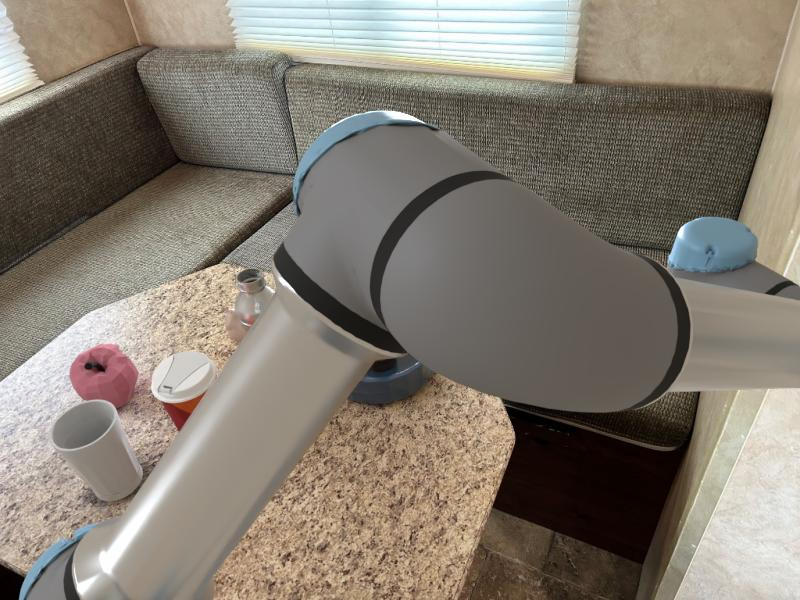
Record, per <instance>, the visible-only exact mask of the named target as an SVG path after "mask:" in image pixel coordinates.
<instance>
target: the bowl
mask: <svg viewBox="0 0 800 600" xmlns="http://www.w3.org/2000/svg"><path fill="white" fill-rule="evenodd" d="M434 374H435V372H433V371H432V370H431V369H429V368H428V367H426V366H425V365H424V364H422V363H421V362H419V361H418V360H416V359H415V358H414V357H413V356H412V355H410V354H409V353H408V354H407V355H406V356H404V357H399V358H397V362H396V364H395V365H394V367H392V368H391V369H389V370H387V371H384V372H375V371H372V370H370V369H369V370H368V371H367V372H366V374H365V375H364V376H363V378H362V379H361V380H360V382H359V383H358V384H357V386H356V387H355V388H354V390H353V391H352V392H351V394H350V395H349V396H348V398H347V399H349V400H351V401H352V402H358V403H364V404H370V405H378V404H379V405H380V404H390V403H394V402H398V401H400V400H403V399H407V398H408V397H411V396H412V395H414V394H415V393H416V392H418V391H420V390H421V389H422V388H425V386H426V384H428V382H429V381H430V380H431V379H432V377H433V376H434Z"/></svg>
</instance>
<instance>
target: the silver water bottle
mask: <svg viewBox="0 0 800 600" xmlns="http://www.w3.org/2000/svg"><path fill="white" fill-rule="evenodd" d="M235 281H236V284H237V286H236V287H237V290H238V292H239V293H238V294H237V297H236V299H235V301H234V306H235V313H236V315H237V317H238V319H239V321H240V323H241V325H242V326H243V328H244V330H245V332H246V334H247V332H248V331H249V329H250V328H251V327H252V325H253V324H254V322H255V321H256V319H257V318H258V316H259V315H260V313H261V312H262V311H263V309H264V308H265V306H266V305H267V303H268V302H269V300H270V299H271V297H272V296H273V295H274V293H275V291H276V290H275V291H274V290H273V289H272V288H271V287H269V286H267V281H266V278H265V275H264V272H263V271H262V270H261V269H260V268H256V267H250V268H245V269H242V270H241V271H239V272H238V273H237V274H236V277H235Z"/></svg>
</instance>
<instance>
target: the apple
mask: <svg viewBox="0 0 800 600" xmlns="http://www.w3.org/2000/svg"><path fill="white" fill-rule="evenodd" d="M139 374H140V372H139V370H138V368H137V366H136V365H135V364H134V362H133V361H132V359H131V358H129V357H128V356H127V354H126V353H123V350H121V348H120V345H118V344H113V343H99V344H97V345H95V346H93V347H91V348H89V349H86V350H85V351H83V352H80V353H79V354H78V355H77V356H76V358H75V359H74V360H73V362H72V363H71V365H70V369H69V375H68V376H69V380H70V383H71V385H72V387H73V390H74V391H75V393H76V394H77V395H78V397H80V398H81V399H82V400H83V401H84V402H85V401H89V400H105V401H108V402H110V403H111V404H113V405H114V407H115V408H116V409H118V408H121V407H123V406H124V405H127V404H128V403H129V402H130V401H131V399H132V398H133V396H134V394H135V390H136V384H137V382H138V377H139Z"/></svg>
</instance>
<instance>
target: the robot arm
mask: <svg viewBox="0 0 800 600" xmlns="http://www.w3.org/2000/svg"><path fill="white" fill-rule="evenodd" d="M300 159H301V160H300V161H299V164H298V166H297V168H296V171H295V175H294V179H293V181H292V194H293V207H294V211H295V215H296V218H297V219H296V220H295V222H294V224H293V225H292V227H291V228H290V230H289V231H288V233H287V234H286V235H285V237H284V238H283V239H282V242H281V243H280V245H279V246H278V247H277V249H276V251H275V252H274V254H272V257H271V258H270V266H271V271H272V276H273V279H274V284H275V293H274V295H273V296H272V297H271V299H270V300H269V302H268V303H267V305H266V306H265V308H264V309H263V311H262V312H261V313H260V315H259V316H258V318H257V319H256V321H255V322H254V324H253V325H252V327H251V328H250V329H249V331H248V332H247V334H246V335H245V337H244V338H243V340H242V341H241V343H239V344H238V345H237V347H236V348H235V349H234V352H233V353H232V354H231V356H230V357H229V359H228V360H227V361H226V363H225V364H224V366H223V367H222V368H221V370H220V371H219V373H218V375H216V376H217V377H216V379H215V380H214V382H213V383H212V385H211V386H210V388H209V389H208V391H207V392H206V393H205V395H204V396H203V398H202V399H201V401H200V402H199V404H198V405H197V407H196V408H195V409H194V411H193V412H192V414H191V415H190V417H189V418H188V420H187V421H186V423H185V424H184V425H183V427H182V428H181V430H180V431H178V433H177V434H176V436H175V437H174V438H173V440H172V442H171V443H170V444H169V446H168V447H167V449H166V450H165V452H164V453H163V454H162V456H161V457H160V458H159V460H158V462H157V463H156V465H155V466H154V467H153V469H152V470H151V472H150V473H149V475H148V476H147V478H145V481H144V482H143V484H142V485H141V486H140V488H139V490H138V491H137V493H135V495H134V497H133V498H132V499H131V500H130V503H128V505H127V507H126V508H125V510H124V511H123V513H122V514H121V515H117V516H113V517H110V518H107V519H104V520H102V521H100V522H95V523H91V524H89V525H86V526H83V527H81V528H79V529H76V530H75V531H74V532H73V533H74V534H73V538H70V539H67V538H64V537H63V538H60V539H59V540H57V541H56V542H55V543H53V544H52V545H51V546H49V547H48V548H47V549H46V550H45V551H44V552H43V553H42V554H41V555H40V556H39V557H38V558H37V559H36V561H35V562H34V563H33V564H32V566H31V567H30V569H29V571H28V572H27V574H26V576H25V578H24V579H23V580H24V581H23V582H22V585H21V588H20V592H19V596H18V597H19V598H18V600H215V594H216V587H215V586H216V583H215V577H214V576H215V574H216V573H217V572H218V571H219V570H220V568H221V567H222V565H223V564H224V563H225V562H226V560H227V559H228V557H229V556H230V555H231V553H232V552H233V551H234V549H235V548H236V547H237V545H238V544H239V543H240V542H241V540H242V539H243V537H244V536H245V535H246V533H247V532H248V531H249V530H250V528H251V527H252V526H253V524H254V523H255V521H256V520H257V519H258V518H259V516H260V515H261V513H262V512H263V511H264V510H265V508H266V507H267V506H268V505H269V503H270V501H271V500H272V499H273V497H274V496H275V495H276V494H277V492H278V491H279V490H280V488H282V486H283V484H284V483H285V482H286V481H287V479H288V478H289V476H290V475H291V474H292V472H293V471H294V469H295V468H296V467H297V466H298V464H299V463H300V462H301V460H302V459H303V457H304V456H305V455H306V454H307V452H308V451H310V448H311V447H312V446H313V444H314V443H315V442H316V441H317V439H318V438H319V437H320V435H321V434H322V432H323V431H324V430H325V428H327V426H328V424H329V423H330V422H331V420H332V419H333V418H334V417H335V415H336V414H337V413H338V411H339V410H340V408H341V407H342V406H343V405H344V403H345V402H346V401H347V399H348V396H349V395H350V394H351V392H352V391H353V390H354V388H355V387H356V386H357V384H358V383H359V382H360V380H361V379H362V378H363V376H364V375H365V374H366V372H367V371H368V370H369V368H370V367H371V366H372V365H373V363H374V362H375V361H377V360H382V359H391V358H399V357H404V356H406V355H407V354H408V353H409V354H410V355H412V356H413V357H414V358H415V359H416V360H418V361H419V362H421V363H422V364H424V365H425V366H426V367H428V368H429V369H431V370H432V371H433V372H434V374H437V375H439V376H441V377H443V378H446V379H448V380H450V381H452V382H454V383H455V384H458V385H460V386H463V387H466V388H469V389H471V390H473V391H476V392H479V393H482V394H485V395H487V396H492V397H495V398H500V399H503V400H507V401H510V402H513V403H514V402H515V403H520V404H525V405H530V406H534V407H540V408H544V409H549V410H557V411H564V412H565V411H566V412H577V413H614V412H616V413H618V412H619V413H620V412H630V411H637V410H640V409H642V408H645V407H647V406H649V405H652V404H653V403H656V402H657V401H659V400H660V399H661V398H663V397H664V396H665V395H666V394H667V393H685V392H686V393H689V392H717V391H718V392H719V391H721V392H722V391H749V390H750V391H752V390H779V389H780V390H782V389H800V285H799V284H798V283H796V282H794V281H793V280H791V279H789V278H787V277H786V276H784V275H782V274H780V273H778V272H777V271H775V270H773V269H771V268H769V267H767V266H766V265H764V264H762V263H761V262H758V261H757V260H756V259H757V257H758V248H759V239H758V236H757V235H756V234H755V233H753V232H752V229H751V228H750V227H748V226H747V225H746V224H744V223H742V222H740V221H738V220H734V219H732V218H727V217H722V216H721V217H720V216H703V217H698V218H695V219H693V220H690V221H688V222H686V223H685V224H682V226H681V227H680V228H679V230H678V232H677V234H676V236H675V240H674V242H673V246H672V249H671V251H670V254H669V255H668V257H667V265H666V266H665V265H663V264H662V263H661V262H659V261H657V260H656V259H653V258H652V257H650V256H648V255H645V254H642V253H640V252H635V251H630V250H625V249H622V248H621V247H618V246H616V245H615V244H611V243H610V242H608V241H607V240H605V239H603V238H601V237H600V236H598V235H596V234H594V233H593V232H591V231H590V230H588V229H587V228H586V227H584V226H583V225H581V224H580V223H578V222H577V221H575V220H574V219H572V218H571V217H569V215H566V214H565V213H564V212H562V211H561V210H559V209H558V208H557V207H555V206H554V205H553V204H552V203H550V202H548V201H547V200H546V199H544V198H543V197H541V196H540V195H539V194H537V192H535V191H532V190H531V189H530V188H528V187H527V186H524V185H522V184H520V183H518V182H517V181H515V180H514V179H513V178H511V177H510V176H508V175H506V174H505V173H504V172H502V171H501V170H499V169H498V168H496V167H495V166H494V165H492V164H491V163H489V162H487V160H485V159H483V158H482V157H480V156H479V155H478V154H477V153H475V152H474V151H472V150H471V149H469V148H468V147H466V146H465V145H463V144H462V143H460V142H459V141H457V140H456V139H455V138H453V137H452V135H450V134H449V133H447V132H446V131H443V130H442V129H441V128H439V127H438V126H437V125H434V124H431V123H426V122H424V121H422V120H419V119H417V118H416V117H414V116H412V115H410V114H406V113H404V112H399V111H394V110H373V111H368V112H367V111H366V112H364V113H357V114H353V115H350V116H349V117H346V118H344V119H342V120H340V121H338V122H336V123H335V124H333V125H331V126H330V127H328V128H327V129H326V130H324V131H323V132H322V133H321V134H320V135H318V136H317V138H316V139H314V141H313V142H312V143H311V144H310V145H309V146H308V148H307V149H306V151H305V152H304V154H303V156H302V157H301V158H300Z"/></svg>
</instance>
